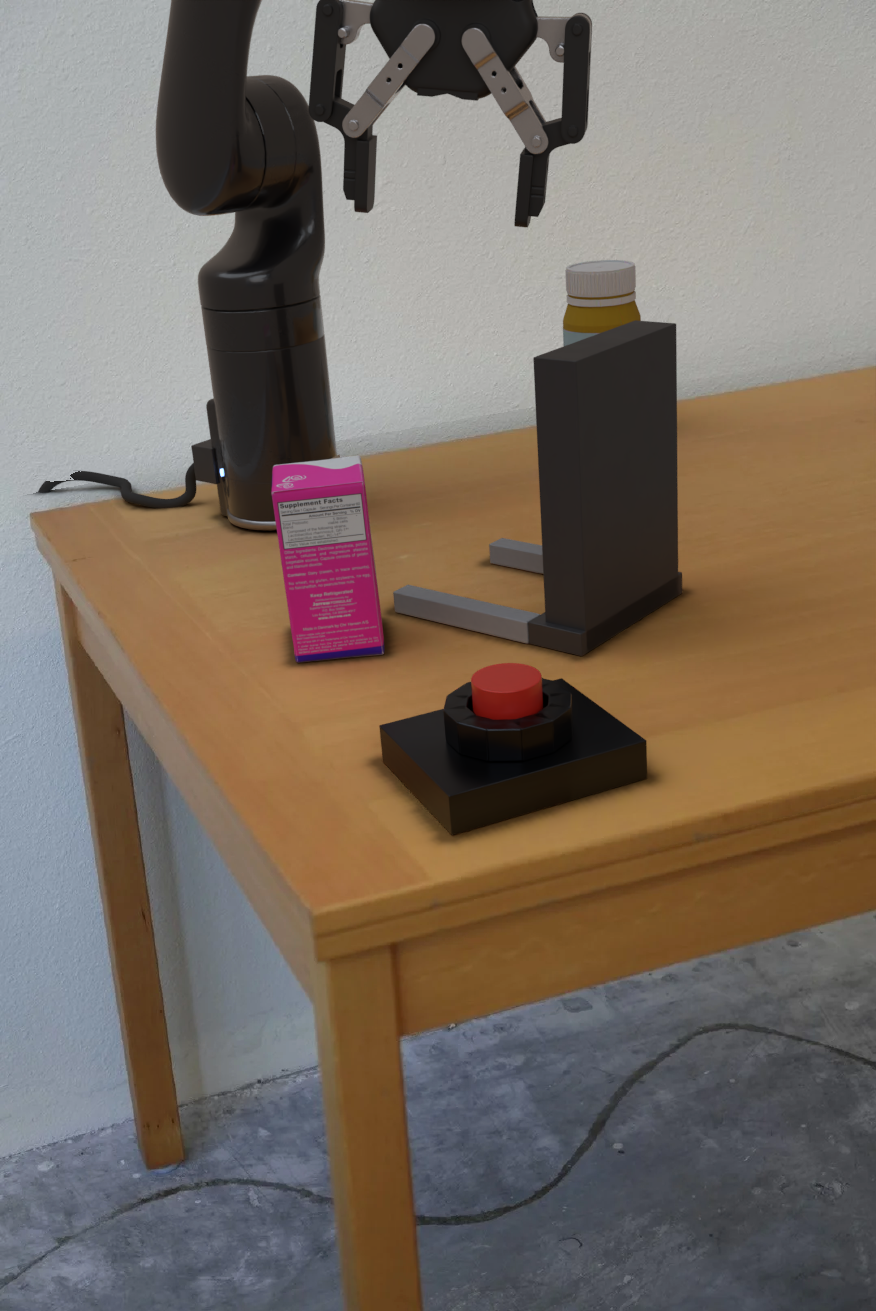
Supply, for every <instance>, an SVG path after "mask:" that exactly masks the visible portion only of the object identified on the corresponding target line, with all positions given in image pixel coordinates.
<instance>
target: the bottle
mask: <svg viewBox="0 0 876 1311" xmlns="http://www.w3.org/2000/svg"><path fill="white" fill-rule="evenodd" d="M636 272H637V270H636V264H635V262H633V261H630V260H623V259H599V260H597V259H596V260H587V261H581V262H576V263H575V262H574V263H572V264H569V265H567V266H566V267H565V273H564V274H565V291H566V303H567V305H566V307H565V308H566V309H565V312H564V315H563V319H562V342H563V344H562V345H563V347H564V346H566V345H569V344H572V343H575V342H577V341H580V340H583V339H586V338H588V337H591V336H594V335H597V334H599V333H602V332H605V331H608V330H610V329H613V328H616V327H619V326H621V325H624V324H627V323H630V322H632V321H635V320H636V321H642V318H641V317H642V316H641V312H640V310H639V307H638V305H637V302H636V299H637V298H636V297H637V293H636V292H637V291H636V287H637V286H636V285H637V279H636Z"/></svg>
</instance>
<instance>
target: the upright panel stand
mask: <svg viewBox="0 0 876 1311" xmlns="http://www.w3.org/2000/svg"><path fill="white" fill-rule="evenodd" d="M677 355H678V354H677V323H674V322H662V321H661V322H660V321H647V320H641V321H636V320H635V321H632V322H630V323H627V324H624V325H621V326H619V327H616V328H613V329H610V330H608V331H605V332H602V333H599V334H597V335H594V336H591V337H588V338H586V339H583V340H580V341H577V342H575V343H572V344H569V345H566V346H564V345H563V346H561V347H558V348H555V349H553V350H550V351H547V352H545V353H542V354H539V355H536V356H533V358H532V360H533V380H534V399H535V401H534V402H535V404H534V405H535V423H536V443H537V444H536V445H537V447H536V448H537V465H538V466H537V467H538V487H539V489H538V490H539V508H540V529H541V544H536V543H531V542H526V541H522V540H521V541H520V540H515V539H510V538H505V537H500V538H498V539H496V540H494V541H493V542H491V543H489V544H488V547H489V563H490V564H493V565H496V566H497V565H498V566H502V567H507V568H513V569H517V570H522V571H527V572H531V573H537V574H540V575H541V574H542V575H543V593H544V594H543V595H544V612H543V613H537V612H533V611H529V610H524V609H519V608H514V607H510V606H506V605H501V604H497V603H492V602H489V601H483V600H479V599H474V598H470V597H466V596H461V595H456V594H453V593H447V592H443V591H439V590H434V589H429V588H425V587H422V586H416V585H412V584H406V585H404V586H402V587H400V588H398V589H396V590H393V592H392V595H393V596H392V597H393V608H394V612H395V613H397V614H401V615H406V616H409V617H415V618H419V619H422V620H427V621H431V622H435V623H439V624H444V625H448V626H451V627H456V628H460V629H464V630H468V631H473V632H476V633H480V634H485V635H489V636H494V637H498V638H501V639H507V640H510V641H514V642H517V643H523V644H527V645H528V644H529V645H532V646H533V645H534V646H538V647H542V648H546V649H550V650H555V651H559V652H562V653H566V654H571V655H575V656H579V657H583V656H585V655H586V654H588V653H589V652H591V651H592V650H594V649H596V648H597V647H599V646H600V645H602V644H604V643H605V642H607V641H609V640H610V639H611V638H613V637H615V636H617V635H618V634H619V633H622V632H623V631H624V630H626V629H628V628H630V626H633V625H634V624H635V623H637V622H639V621H640V620H642V619H643V618H645V617H647V616H648V615H649V614H652V613H653V612H655V611H656V610H657V609H660V608H661V607H663V606H664V605H666V604H667V603H669V602H670V601H672V600H674V599H675V598H677V597H678V596H680V595H682V594H683V572H682V571H679V519H678V518H679V517H678V516H679V505H678V504H679V501H678V500H679V499H678V496H679V495H678V494H679V492H678V490H679V489H678V487H679V486H678V483H679V482H678V481H679V480H678V394H677V393H678V373H677V369H678V368H677V367H678V366H677V364H678V362H677V361H678V359H677V358H678V356H677Z"/></svg>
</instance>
